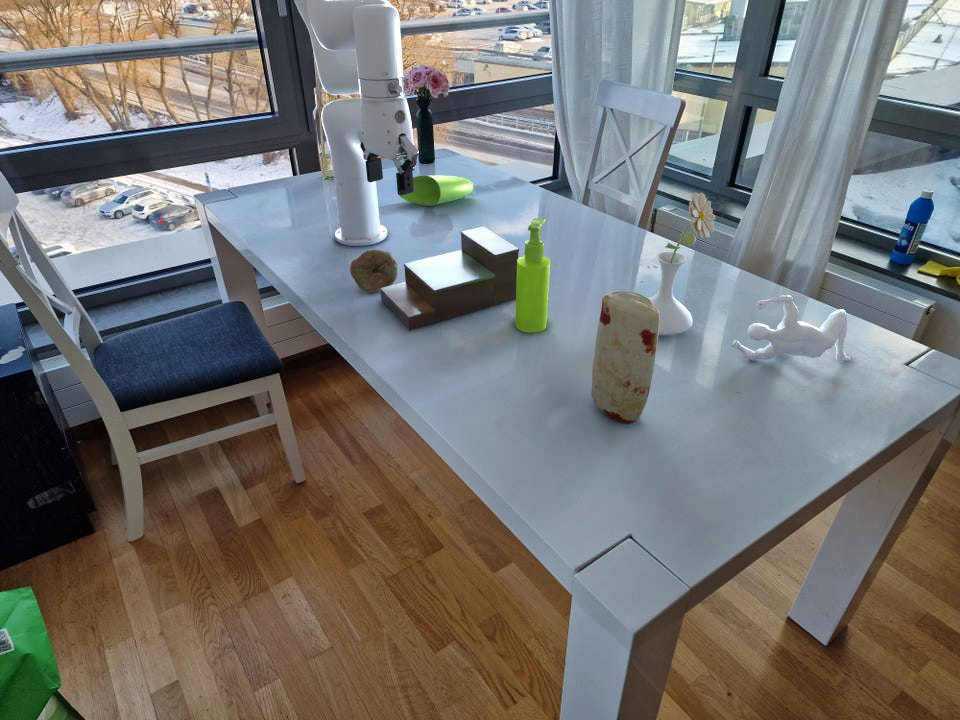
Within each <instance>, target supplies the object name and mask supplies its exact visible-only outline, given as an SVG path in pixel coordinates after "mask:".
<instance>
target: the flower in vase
mask: <svg viewBox="0 0 960 720" xmlns="http://www.w3.org/2000/svg"><path fill="white" fill-rule="evenodd" d="M688 205H689V206H688V212H689V213H688V217H689V219H690V221H689V222H688V223H687V225H686V227H685V228H684V230H683V232H682V233H681V236H680V238H679V240H678V242H677V244H676V245H674V244H672V243H670V242H668V243H667V244H666V246H664V248H666V249H671V250H673V251H665V252H660V253H658V254H657V256H656V259H657V260H658V262H659V264H660V271H661V276H660V277H661V280H660V284H659V288H658V292H657V293H656V294H654V295H652V296H650V297H647V298H648V299H650V301H651V303H652V305H653V306H654V307H656V308H657V309H658V310H659V313H660V323H659V334H658V336H677V335H682V334H684V333H685V332H687V331H688V330H689V329H690V328H692V326H693V323H694V321H693V317H692V314H691V312H690V311H689V310H688V309H687V308H686V306H684V305H683V304H682V302H680V301H678V300H677V298H676V297H675V296H674V294H673V293H674V292H673V290H674V289H673V288H674V283H675V280H676V276H677V274H678V272H679V270H680V268H681V267H682V266H683V265H684V264H685V263H686V262H687V257H686V256H685V255H683V254H680V253H677V251H678V250H680V249H681V248H682V247H681V246H680V244H681V242H682V243H683V244H684V246H686V247H687V248H690V247H692V246H693V245H694V244H695V243H696V242H697V238H698V237H700V239H710V237H711V236H710V232H711V233H714V232H715V229H714V227H715V223H714V221H715V220H716V215H715V214H714V213H713V210H714V209H713V208H712V207H711V205H712V202H711V201H710V200H706V196H705V193H703V192H700V193H697V192H694V193H693V195H692V196H691V200H689V204H688ZM689 227H690V228H692V230H693V232H694V233H695V234H694V233H693V232H690V231H688V229H689Z"/></svg>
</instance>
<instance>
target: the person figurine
mask: <svg viewBox="0 0 960 720" xmlns="http://www.w3.org/2000/svg"><path fill="white" fill-rule="evenodd" d="M772 304H775V305H779V304H781V305H783V306H782V309H783V313H784V315H783V317H782V318H781V322H779V324H778V325H777V328H776V329H773V328H770V326H769V325H766V324H764V323H759V322H756V323H752V324H750V325H749V326H748V328H747V335H748V337H749V338H750V339H751V340H753V341H757V342H759V341H760V342H761V341H762V340H767V341H769V342H768V344H767V345H766V346H765V347H764V348H757V349H756V350H752V349H750V348H748V347H746V346H744V345H742V343H740V342H739V340H737V339H734V340H733V341H732V342H731V347H733V348H734V349H737V350H738V351H739V352H740V353H741V354H742V355H743V357H745V358H746V359H748V360H750V361H753V362H754V361H756V360H765V361H767V360H769V359H773V358H774V357H777V356H779V355H785V354H788V355H792V356H797V357H798V356H800V357H807V358H812V359H815V358H820V357H821V356H822V355H823V354H824V353H825V352H826V351H827V350H830V349H832V348H833V347H835V350H836V351H835V352H836V355H835V359H834V360H835V361H836V362H843V361H846V362H847V361H852V358H851V357H850V356H848V355H847V354H846V353H845V351H844V350H845V349H844V343H845V341H846V340H845V339H846V337H847V332H848V328H849V326H848V325H849V324H848V315H847V312H846V310H845V309H841V308H840V309H837V310H834V311H833V312H831V313H830V314H829V315H828V317H827V319H826V320H825V321H824V322H822V324H821V325H820V326H819V328H818V327H816V326H814V325H812V324H810V323H807V322H804V321H798V320H799V315H800V312H799V309H798V307H797V305H796V304H795V303H794V299H793V296H791V295H778V296H775V297H771V298H768V299H763V300H756V307H757V309H758V310H762V309H764V308H766V307H767V305H772Z"/></svg>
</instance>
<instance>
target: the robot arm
mask: <svg viewBox="0 0 960 720" xmlns="http://www.w3.org/2000/svg"><path fill="white" fill-rule="evenodd" d="M293 2H294V4H295V6H296V8H297V10H298V13H299V14H300V16H301V18H302V20H303V22H304V24H305V25H306V28H307V30H308V33H309V37H310V42H311V47H312V51H313V56H314V61H315V65H316V69H317V75H318V78H319V81H320V84H321V86H322V89H323V90H324V91H325V93H327V94H329V95H333V96H347V95H357V94H358V95H359V96H360V97H350V98H340V99H335V100H332V101H330V102H327V104H325V105H324V106H323V107H322V110H321V117H320V118H321V124H322V128H323V132H324V135H325V140H326V142H327V146H328V150H329V156H330V161H331V168H332V175H333V183H334V189H335V197H336V204H337V213H338V220H339V228H338V229H337V230H335V232H334V239H335V241H336V242H338V243H339V244H340V245H344V246H347V247H348V246H349V247H364V246H371V245H374V244H375V245H376V244H378V243H381V242H382V241H384V240H385V239H386V238H387V236H388V229H387V228H386V226H384V225H381V220H380V209H379V201H378V192H377V191H378V190H377V182H378V181H382V180H383V179H384V174H383V162H382V158H383V159H386V160H389V161H393V164H394V166H395V168H396V170H397V172H396V173H395V179H396V191H397V195H398V196H399V195H400V196H402V195H405V194H409V193H412V192H413V191H414V187H413V177H414V175H413V174H414V173H413V172H415V167H416V165H417V163H418V162H417V160H418V156H419V149H418V148H417V147H416V146H415V143H414V133H413V124H412V118H411V117H412V116H411V113H410V112H411V111H410V108H409V107H410V106H409V103H408V100H407V97H405V96H406V95H405V82H404V80H405V79H404V66H403V64H404V63H403V50H402V35H401V19H400V14H399V11H398V9H397V8H396V7H395V6H394V5H392V4H391V3H390V2H389V1H388V0H293ZM401 160H404V162H403V163H402V162H401ZM400 196H399V197H400Z"/></svg>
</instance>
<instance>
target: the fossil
mask: <svg viewBox="0 0 960 720" xmlns="http://www.w3.org/2000/svg"><path fill="white" fill-rule="evenodd" d="M398 270H399V269H398V262H397V260H396V258H394V256H393V255H392V254H391V252H389V251H385V250H381V249H367V250H365V251H363V253H361V254H360V255H359V256H358V257H356V258H355V259H353V260H352V261H351V263H350V267H349V273H350V275H351V277H352V279H353V280H354V281H355V283H356V285H357V287H358V288H359V290H361V291H363V292H364V293H367V294H374V293H375V294H376V293H378V292H379V291H380V288H383V287H387V286H391V285H394V284H395V282H396V281H397V279H398Z"/></svg>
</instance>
